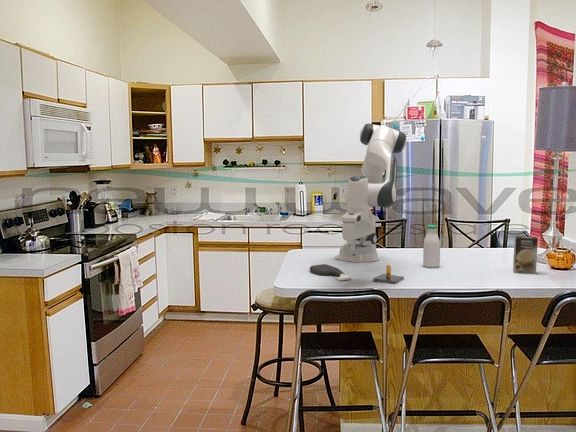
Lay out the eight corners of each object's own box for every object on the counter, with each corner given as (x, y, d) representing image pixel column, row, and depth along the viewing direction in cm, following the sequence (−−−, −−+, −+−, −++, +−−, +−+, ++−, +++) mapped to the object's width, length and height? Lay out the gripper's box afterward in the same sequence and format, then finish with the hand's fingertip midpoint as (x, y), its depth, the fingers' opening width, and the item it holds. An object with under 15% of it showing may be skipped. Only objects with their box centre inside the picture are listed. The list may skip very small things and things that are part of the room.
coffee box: (514, 273, 232) (515, 237, 230) (512, 270, 238) (514, 235, 236) (536, 274, 229) (537, 238, 227) (534, 271, 235) (536, 236, 233)
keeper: (372, 281, 220) (373, 265, 219) (382, 276, 228) (382, 261, 227) (395, 284, 214) (395, 268, 214) (403, 279, 223) (404, 263, 222)
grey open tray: (343, 252, 215) (343, 245, 214) (350, 250, 220) (350, 243, 219) (365, 255, 209) (365, 247, 209) (371, 252, 214) (371, 245, 214)
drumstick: (327, 269, 246) (357, 280, 225) (307, 272, 241) (336, 283, 219) (327, 263, 246) (357, 274, 224) (307, 266, 241) (336, 276, 219)
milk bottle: (440, 268, 244) (441, 226, 242) (423, 267, 245) (424, 226, 243) (439, 265, 251) (439, 224, 249) (422, 264, 253) (423, 224, 251)
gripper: (361, 212, 223) (361, 244, 225) (339, 217, 206) (339, 251, 208) (375, 213, 220) (375, 245, 221) (353, 218, 203) (353, 253, 204)
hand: (357, 248), depth 214 cm, fingers closed on grey open tray, 6 cm apart
